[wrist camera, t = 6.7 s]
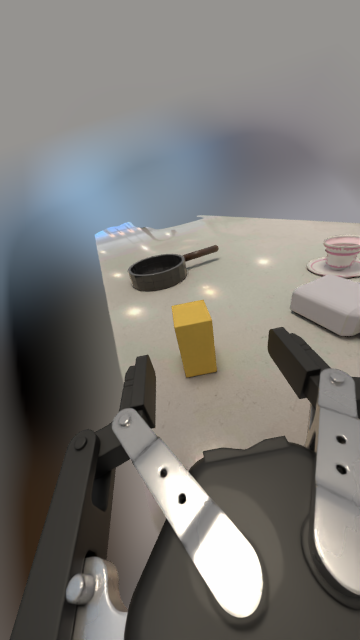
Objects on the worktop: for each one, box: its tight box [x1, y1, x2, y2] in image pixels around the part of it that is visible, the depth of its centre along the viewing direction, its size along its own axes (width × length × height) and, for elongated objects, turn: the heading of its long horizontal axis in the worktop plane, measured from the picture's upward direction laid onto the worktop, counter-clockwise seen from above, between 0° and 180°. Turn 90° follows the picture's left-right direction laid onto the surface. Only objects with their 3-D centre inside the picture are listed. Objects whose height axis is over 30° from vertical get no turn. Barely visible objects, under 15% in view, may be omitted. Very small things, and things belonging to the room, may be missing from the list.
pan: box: [128, 254, 187, 291], centre depth 58 cm, size 17×17×4 cm
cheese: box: [172, 300, 217, 377], centre depth 27 cm, size 5×4×9 cm
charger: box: [290, 274, 360, 336], centre depth 29 cm, size 5×9×15 cm
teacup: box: [307, 235, 360, 278], centre depth 44 cm, size 12×12×6 cm
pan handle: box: [183, 245, 219, 262], centre depth 61 cm, size 13×2×2 cm, turn 114°
